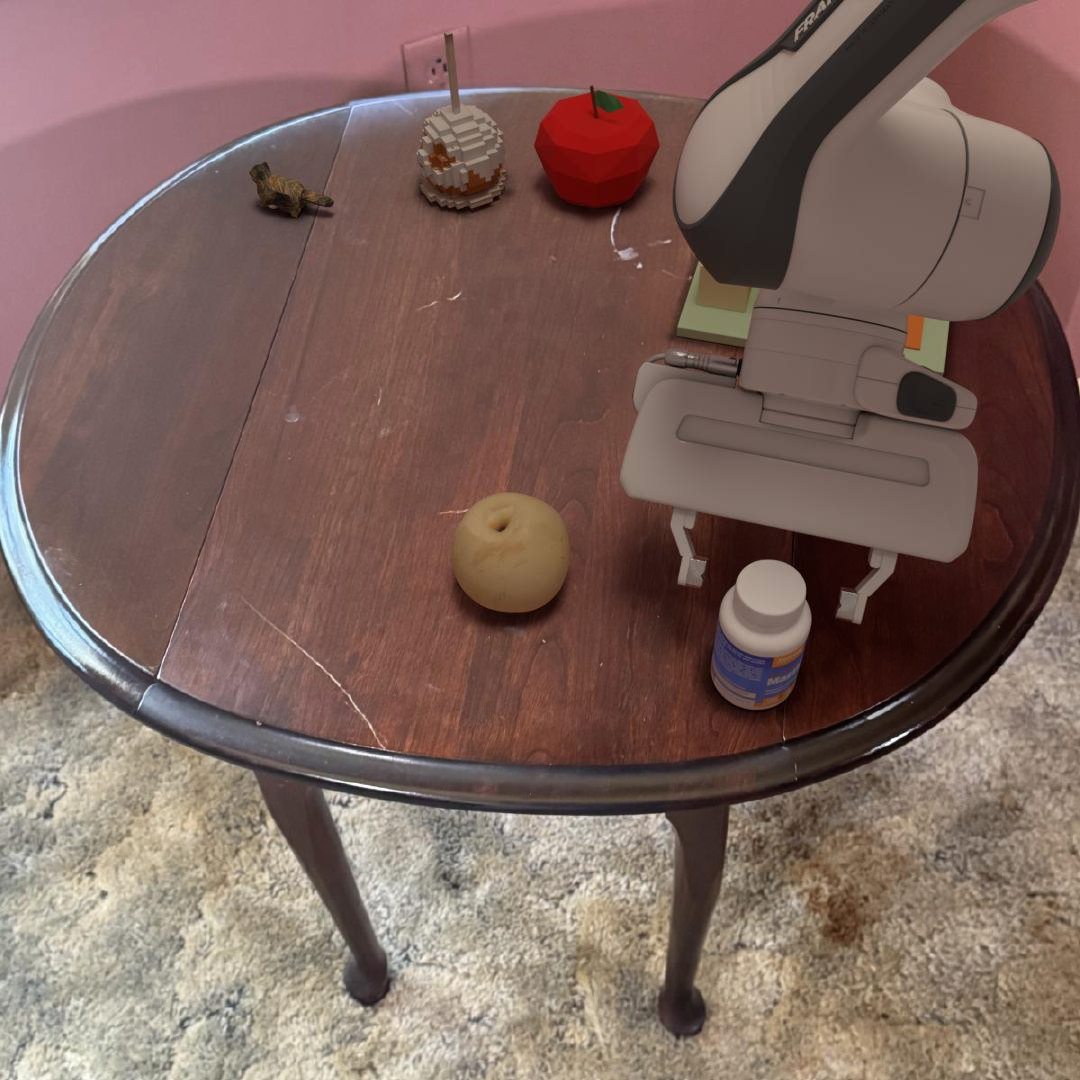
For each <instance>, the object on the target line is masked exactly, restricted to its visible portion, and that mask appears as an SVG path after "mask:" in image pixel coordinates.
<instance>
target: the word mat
mask: <svg viewBox="0 0 1080 1080" xmlns="http://www.w3.org/2000/svg"><path fill="white" fill-rule="evenodd" d="M760 290H761V288H754V287H746V286H738V285H730V284H721V283H718V282H717V281H716V280H715V279H714V278H713V277H712V276H711V275H710V274H709V272H708V271H707V270H706V269H705V268H704V266H703V265H702V264H701V262H700V261H699V260H698V262H697V265H696V268H695V271H694V274H693V277H692V279H691V283H690V286H689V289H688V293H687V296H686V298H685V301H684V305H683V308H682V311H681V314H680V317H679V319H678V322H677V326H676V337H681V338H686V339H687V338H688V339H692V340H693V339H694V340H700V341H705V342H711V343H716V344H721V345H722V344H723V345H728V346H733V347H740V348H745V345H746V340H747V336H748V331H749V326H750V321H751V316H752V311H753V307H754V303H755V300H756V298H757V296H758V294H759V292H760ZM949 329H950V321H940V320H936V319H931V318H926V317H920V316H915V315H910V314H909V315H908V334H907V340H906V344H905V348H904V352H903V354H904V355H905V358H907V359H909V360H910V361H912V362H914V363H916V364H918V365H920V366H922V365H923V366H925V367H927V368H929V369H931V370H933V371H934V372H935V373H936V374H938V375H940V376H942V377H944V374H945V366H946V365H945V364H946V357H947V356H946V355H947V346H948V338H949Z"/></svg>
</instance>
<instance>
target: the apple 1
mask: <svg viewBox="0 0 1080 1080" xmlns="http://www.w3.org/2000/svg"><path fill="white" fill-rule="evenodd" d="M569 537H570V536H569V533H568V530H567V526H566V523H565V521H564V520H563V518H562V517H561V515H560V514H559V512H558V511H557V510H555V508H554V507H552V505H550V504H548V503H547V502H545V501H543V500H542V499H539V498H536V497H533V496H531V495H528V494H524V493H519V492H510V491H508V492H498V493H497V492H496V493H494V494H491V495H488V496H486V497H484V498H482V499H480V500H479V501H477V502H476V503H474V505H472V506H471V507H470V508H469V509H468V510H467V511H466V512H465V514H464V515H463V516H462V517H461V520H460V522H459V523H458V525H457V527H456V529H455V532H454V534H453V538H452V541H451V549H450V556H451V565H452V570H453V573H454V576H455V578H456V581H457V582H458V584H459V586H460V587H461V590H463V592H465V594H466V595H467V596H468V597H469V598H471V600H473V601H474V602H475V603H477V604H479V605H480V606H482V607H484V608H486V609H489V610H493V611H497V612H502V613H527V612H532V611H535V610H538V609H539V608H541V607H543V606H545V605H546V604H548V603H549V602H550V601H552V600H553V598H555V596H556V595H557V594H558V593H559V591H560V590H561V588H562V587H563V584H564V582H565V581H566V577H567V574H568V572H569V571H568V570H569V567H570V561H571V559H570V558H571V545H570V538H569Z"/></svg>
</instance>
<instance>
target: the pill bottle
mask: <svg viewBox="0 0 1080 1080" xmlns="http://www.w3.org/2000/svg"><path fill="white" fill-rule="evenodd" d="M806 597H807V586H806V582H805V580H804V577H803V576H802V575H801V573H800V572H799V571H798V570H797V569H796V568H795V567H793V566H792V565H790V564H788V563H786V562H784V561H782V560H776V559H759V560H755V561H753V562H751V563H749V564H748V565H746V566H745V567H743V569H741V571H740V572H739V574H738V576H737V578H736V581H735V584H734V585H733V586H731V587H730V588H729V589H728V590H727V592H726V593H725V595H724V596H723V598H722V600H721V603H720V606H719V612H718V617H717V625H716V631H715V637H714V644H713V650H712V656H711V661H710V675H711V679H712V682H713V685H714V686H715V688H716V690H717V691H718V692H719V694H720V695H721V696H722V697H723V698H724V699H725V700H726V701H728V702H730V703H731V704H732V705H734V706H737V707H739V708H742V709H745V710H750V711H761V710H762V711H763V710H768V709H771V708H773V707H776V706H779V705H780V704H781V703H782V702H784V701H785V700H787V698H788V697H789V696H790V694H791V693H792V691H793V689H794V687H795V684H796V682H797V678H798V674H799V671H800V667H801V663H802V660H803V657H804V653H805V649H806V645H807V641H808V638H809V635H810V631H811V626H812V611H811V608H810V606H809V605H810V604H809V603H808V601H807V600H806Z"/></svg>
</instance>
